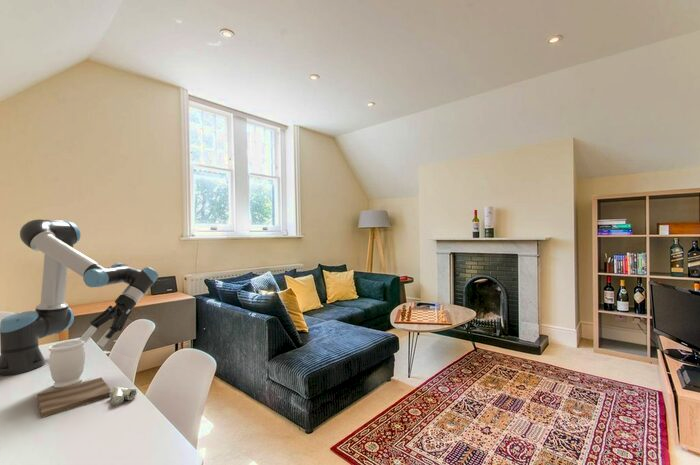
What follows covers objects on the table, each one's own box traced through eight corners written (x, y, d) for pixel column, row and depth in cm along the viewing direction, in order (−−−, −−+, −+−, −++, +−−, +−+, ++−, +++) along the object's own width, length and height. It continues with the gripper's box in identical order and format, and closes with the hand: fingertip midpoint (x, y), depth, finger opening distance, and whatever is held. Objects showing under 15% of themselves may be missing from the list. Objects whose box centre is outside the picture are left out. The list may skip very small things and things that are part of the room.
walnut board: (37, 398, 115) (37, 394, 115) (101, 381, 128) (101, 377, 128) (41, 417, 103) (41, 412, 103) (111, 395, 116) (111, 391, 116)
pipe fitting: (119, 408, 108) (137, 397, 114) (117, 397, 108) (136, 386, 114) (100, 406, 110) (118, 394, 117) (98, 394, 110) (117, 384, 116)
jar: (55, 392, 120) (54, 350, 120) (45, 385, 125) (44, 346, 125) (90, 380, 129) (89, 341, 129) (79, 375, 134) (78, 338, 134)
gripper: (152, 305, 143) (115, 352, 129) (120, 301, 154) (83, 343, 141) (139, 295, 138) (99, 342, 125) (106, 292, 150) (67, 335, 137)
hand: (90, 343), depth 133 cm, fingers open, 13 cm apart
